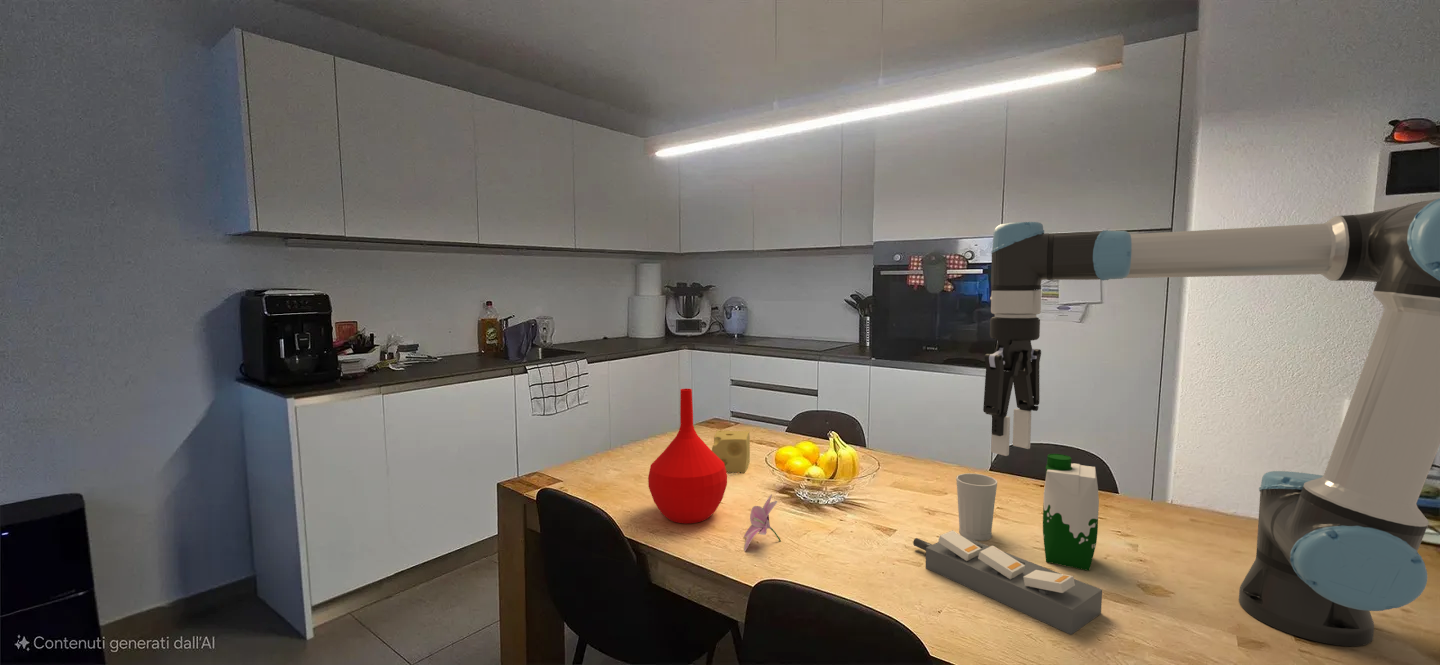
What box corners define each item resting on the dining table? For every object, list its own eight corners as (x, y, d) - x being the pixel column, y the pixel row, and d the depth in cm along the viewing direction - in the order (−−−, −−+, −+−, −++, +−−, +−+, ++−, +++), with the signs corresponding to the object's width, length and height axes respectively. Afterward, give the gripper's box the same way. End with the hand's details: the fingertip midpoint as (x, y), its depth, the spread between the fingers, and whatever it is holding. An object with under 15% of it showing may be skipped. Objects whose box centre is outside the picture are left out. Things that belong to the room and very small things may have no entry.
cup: (1000, 543, 121) (1001, 486, 120) (958, 540, 122) (960, 484, 121) (990, 527, 128) (992, 474, 127) (951, 525, 130) (953, 472, 129)
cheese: (711, 472, 168) (710, 438, 167) (717, 461, 179) (716, 428, 178) (747, 474, 167) (746, 439, 166) (751, 462, 177) (751, 429, 176)
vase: (681, 539, 125) (678, 401, 122) (633, 514, 138) (630, 389, 136) (744, 516, 137) (742, 389, 134) (694, 495, 150) (692, 380, 148)
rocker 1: (979, 554, 107) (981, 547, 107) (966, 561, 105) (968, 554, 104) (951, 536, 112) (952, 529, 111) (938, 542, 110) (939, 535, 109)
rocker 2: (1023, 572, 101) (1025, 565, 100) (1010, 579, 98) (1012, 572, 98) (990, 552, 105) (992, 545, 105) (978, 558, 103) (979, 551, 103)
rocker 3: (1075, 585, 94) (1073, 575, 94) (1062, 592, 91) (1060, 583, 91) (1037, 578, 99) (1035, 569, 99) (1024, 585, 96) (1023, 576, 96)
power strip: (1101, 613, 95) (1102, 586, 95) (1071, 634, 90) (1072, 606, 89) (931, 542, 122) (931, 521, 121) (899, 555, 116) (899, 533, 116)
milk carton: (1043, 545, 120) (1046, 449, 118) (1095, 555, 115) (1100, 455, 113) (1040, 563, 112) (1043, 460, 111) (1096, 575, 108) (1100, 468, 106)
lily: (757, 530, 131) (736, 496, 129) (803, 518, 126) (783, 483, 124) (743, 570, 121) (720, 534, 119) (794, 559, 116) (771, 521, 114)
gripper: (1022, 312, 107) (1019, 436, 109) (961, 317, 97) (958, 454, 99) (1066, 314, 101) (1061, 445, 103) (1005, 319, 91) (1001, 466, 93)
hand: (1010, 449), depth 101 cm, fingers open, 6 cm apart
